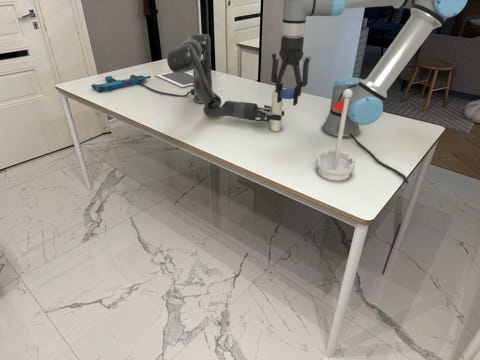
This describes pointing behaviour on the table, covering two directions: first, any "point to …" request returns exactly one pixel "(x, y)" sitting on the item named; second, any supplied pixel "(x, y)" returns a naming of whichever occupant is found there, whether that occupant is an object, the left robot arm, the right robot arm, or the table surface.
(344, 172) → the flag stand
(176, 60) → the left robot arm
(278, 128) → the tube
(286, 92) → the lid
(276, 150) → the table surface
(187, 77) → the tablet
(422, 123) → the table surface
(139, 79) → the submachine gun
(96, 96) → the table surface
